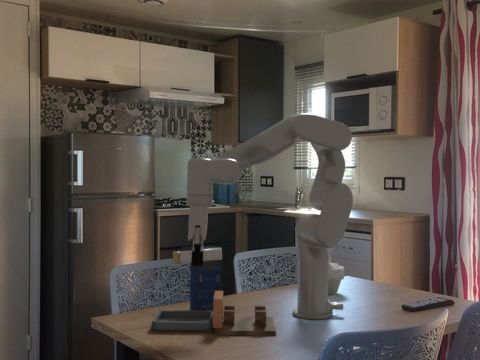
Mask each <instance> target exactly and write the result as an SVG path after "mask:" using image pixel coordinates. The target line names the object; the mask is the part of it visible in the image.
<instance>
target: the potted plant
mask: <svg viewBox="0 0 480 360" xmlns="http://www.w3.org/2000/svg"><path fill="white" fill-rule="evenodd" d="M343 241H344V242H345V241H346V238H345V237H343ZM341 242H342V240H341V241H340V243H339V244H341ZM335 249H336V246H335V247H333V248H327V251H328V258H329V266H328V296H331V295H332V296H333V295H336V294H337V293H338V291H339V288H340V285H341V283H342V281H343V280H344V279H345V266H342V265H339V263H334V262H331V261H332V253H331V252H333V251H335Z"/></svg>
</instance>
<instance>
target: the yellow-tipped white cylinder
mask: <svg viewBox="0 0 480 360" xmlns="http://www.w3.org/2000/svg"><path fill="white" fill-rule="evenodd" d="M192 251H193V250H191V249H190V250H182V251H180V250H178V251H172V261H173V265H179V264H187V263H189V264H190V262H192ZM222 251H223V249H222V247H220V248H211V249H202V252H203V261H210V260H221V261H222V260H223V252H222Z"/></svg>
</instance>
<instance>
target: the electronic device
mask: <svg viewBox="0 0 480 360" xmlns="http://www.w3.org/2000/svg"><path fill="white" fill-rule="evenodd" d="M211 248H221V247H219V246H216V245H215V246H203V249H211ZM190 250H193V247H191V248H190ZM189 264H190V270H189V271H190V274H189V275H190V279H189V281H190V282H189V283H190V285H189V286H190V288H189V289H190V292H189V310H194V311H213V299H214V294H215V291H222V259H221V260H210V261H204V262H203V265H202V266H192V262H189Z"/></svg>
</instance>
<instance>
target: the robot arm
mask: <svg viewBox="0 0 480 360" xmlns="http://www.w3.org/2000/svg"><path fill="white" fill-rule="evenodd" d="M352 140H353V133H352V130H351V129H350V127H349V126H347V124H344V123H343V122H340V121H337V120H334V119H330V118H326V117H323V116H320V115H317V114H312V113H307V112H305V113H304V112H302V113H298V114H292V115H289V116H287V117H285V118H284V119H282V120H280V121H278V122H276V123H275V124H274V125H272V126H270V127H269V128H267V129H266V130H263V131H262V132H260V133H258V134H256V135H255V136H252V137H251V138H250V139H247V140H245V141H243V142H242V143H240V144H238V145H236V146H234V147H233V148H230V149H229V150H227V151H226V152H224V153H222V154H220V155H219V156H217V157H215V158H213V159H211V158H208V157H207V158H205V157H204V158H203V157H191V158H189V160H188V161H187V172H186V173H187V177H186V204H185V205H186V206H187V207H189V213H188V229H187V231H188V233H187V240H188V241H189V242H190V241H191V240H192V248H193V251H192V266H202V265H203V262H204V261H203V252H202V249H203V247H204V241H205V240H206V237H207V231H208V220H209V208H210V207H213V203H214V201H213V200H214V195H213V194H214V184H221V185H232V184H235V183H237V182H238V181H239V180H240V179H241V178H242V175H243V170H245V169H247V168H249V167H252V166H256V165H260V164H262V163H266V162H268V161H271V160H273V159H275V158H276V157H277V156H279V155H281V154H283V153H284V152H285V151H287V150H288V149H291V148H292V147H294V146H296V145H297V144H299V143H302V142H304V143H305V142H307V143H310V145H311V147H312V148H313V150H314V152H315V153H316V155H317V160H318V163H317V164H318V166H317V170H316V173H315V177H314V178H313V179H314V180H313V183H312V186H311V189H310V192H309V197H308V199H309V200H308V202H309V204H310V205H311V207H312V208H314V210H316V211H320V214H315V213H307V214H305V215H303V216H302V217H300V218H299V219H298V221H297V222H296V226H295V238H296V244H297V307H296V306H295V307H294V308H293V309H292V316H295V317H297V318H301V319H305V320H325V319H330V318H332V317H333V316H334V315H333V314H334V310H337V311H344V303H338V302H331V301H330V300H329V295H328V266H329V258H328V251H327V248H333V247H335V246H338V245H339V244H341V243H340V241H341V242H342V240H343V239H344V235H345V232H346V229H347V226H348V222H349V219H350V216H351V212H352V209H353V204H354V196H353V192H352V189H351V188H350V186H349V185H347V184H346V183H344V182H343V180H344V175H345V173H346V172H345V171H346V160H345V157H344V154H343V152H342V151H343V150H345V149H347V148H348V147H349V146H350V145H351V143H352ZM335 248H336V247H335Z"/></svg>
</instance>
